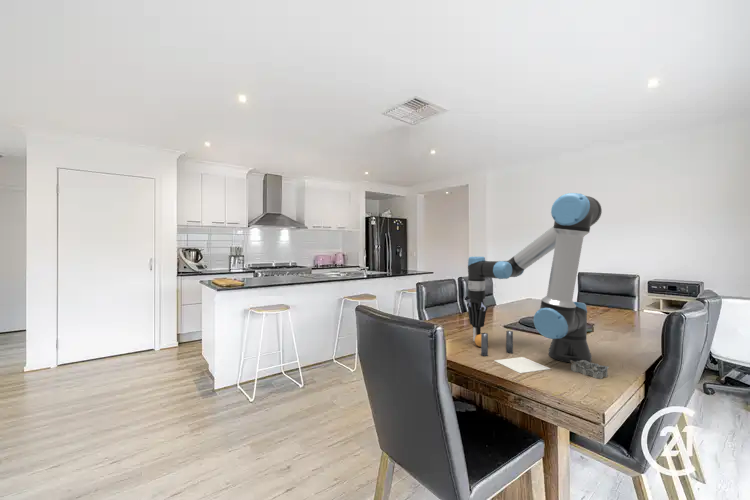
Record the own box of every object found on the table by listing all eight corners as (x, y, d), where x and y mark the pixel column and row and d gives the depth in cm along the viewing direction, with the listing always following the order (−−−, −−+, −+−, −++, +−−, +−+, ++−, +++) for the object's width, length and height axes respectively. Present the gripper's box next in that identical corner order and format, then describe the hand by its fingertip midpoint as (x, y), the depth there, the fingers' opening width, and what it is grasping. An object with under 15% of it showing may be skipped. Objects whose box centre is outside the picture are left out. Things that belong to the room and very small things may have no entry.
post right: (514, 353, 143) (514, 331, 143) (509, 353, 142) (509, 332, 142) (509, 351, 145) (510, 330, 145) (504, 351, 145) (505, 330, 145)
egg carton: (567, 371, 123) (567, 359, 123) (579, 367, 127) (579, 356, 127) (599, 380, 114) (599, 368, 114) (610, 376, 118) (610, 365, 118)
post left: (489, 356, 139) (489, 334, 139) (483, 356, 138) (483, 334, 138) (485, 354, 141) (485, 332, 141) (479, 354, 141) (480, 333, 141)
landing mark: (550, 369, 124) (550, 368, 124) (520, 373, 120) (520, 372, 120) (522, 357, 137) (522, 356, 137) (494, 360, 133) (494, 360, 133)
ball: (482, 345, 155) (490, 347, 150) (472, 346, 154) (479, 348, 148) (481, 333, 156) (489, 334, 151) (471, 334, 154) (478, 335, 149)
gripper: (461, 288, 161) (461, 338, 161) (478, 291, 148) (478, 345, 148) (475, 288, 163) (475, 337, 163) (492, 291, 151) (492, 344, 151)
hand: (476, 341), depth 156 cm, fingers closed
